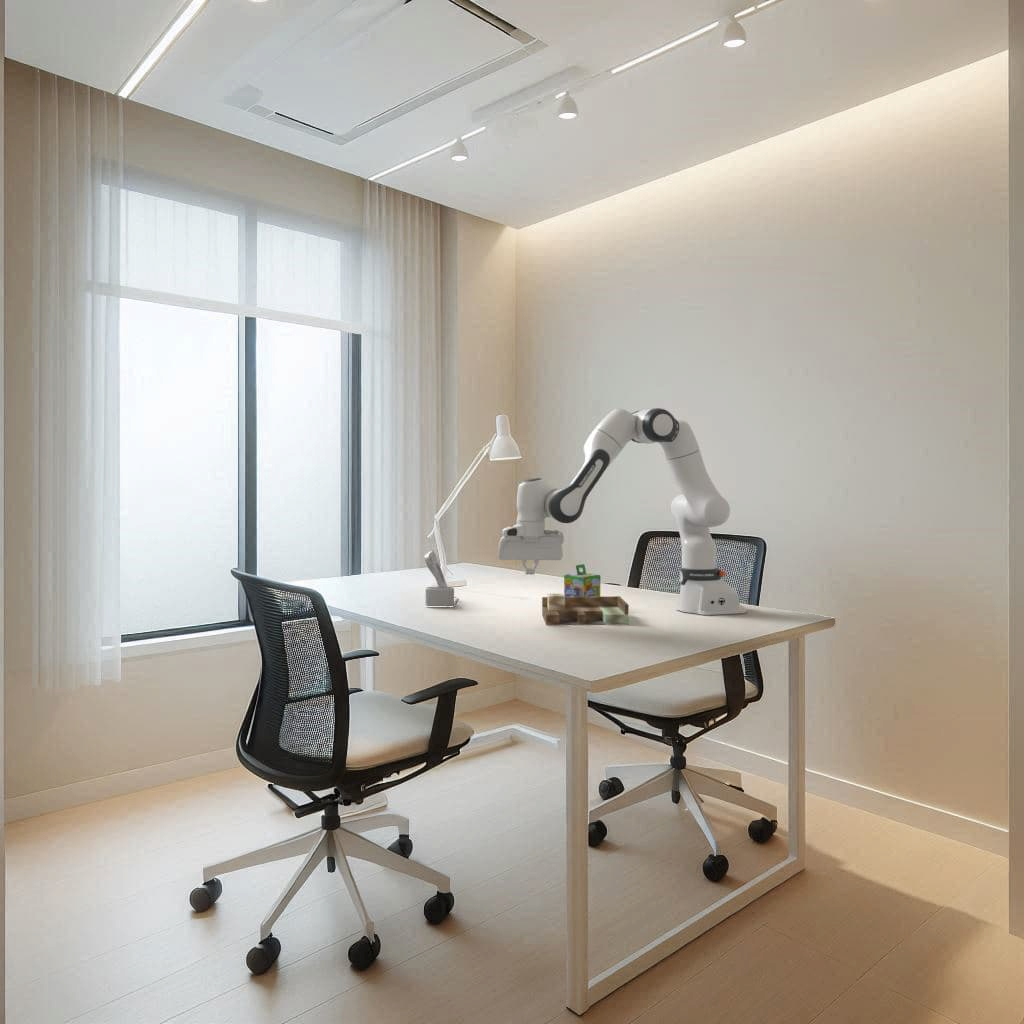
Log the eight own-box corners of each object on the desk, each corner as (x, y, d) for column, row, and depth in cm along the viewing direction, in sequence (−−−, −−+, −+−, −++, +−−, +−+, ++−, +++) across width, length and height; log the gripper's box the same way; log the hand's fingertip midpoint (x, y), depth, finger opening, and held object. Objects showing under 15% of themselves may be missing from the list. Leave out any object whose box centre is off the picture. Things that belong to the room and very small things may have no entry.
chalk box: (584, 612, 254) (584, 567, 253) (563, 608, 260) (563, 565, 259) (601, 608, 260) (601, 564, 259) (580, 605, 267) (580, 562, 266)
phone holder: (453, 607, 262) (453, 555, 261) (424, 607, 262) (423, 555, 261) (458, 598, 280) (458, 549, 278) (430, 598, 280) (430, 549, 279)
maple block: (563, 607, 246) (563, 593, 245) (564, 610, 241) (564, 596, 240) (547, 607, 246) (547, 593, 245) (548, 610, 241) (548, 596, 240)
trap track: (619, 614, 249) (619, 596, 249) (628, 624, 234) (628, 604, 234) (542, 615, 248) (542, 597, 248) (546, 625, 233) (546, 605, 233)
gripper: (562, 529, 245) (561, 572, 246) (498, 529, 244) (497, 572, 245) (564, 531, 238) (564, 575, 239) (498, 530, 238) (498, 575, 238)
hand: (529, 574), depth 242 cm, fingers closed
